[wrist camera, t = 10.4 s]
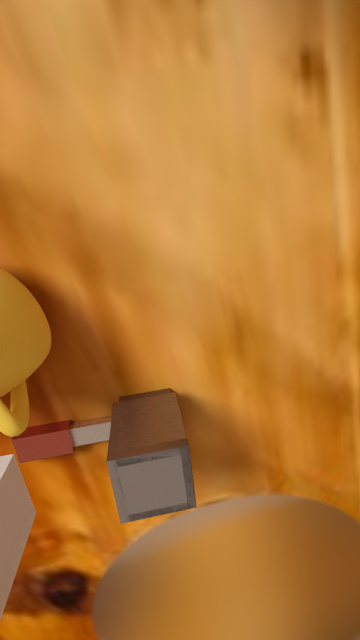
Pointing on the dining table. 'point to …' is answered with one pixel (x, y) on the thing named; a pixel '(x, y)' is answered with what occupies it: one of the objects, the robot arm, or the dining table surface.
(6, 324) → the teapot
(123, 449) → the rimmed grey cube
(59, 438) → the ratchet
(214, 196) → the dining table surface
